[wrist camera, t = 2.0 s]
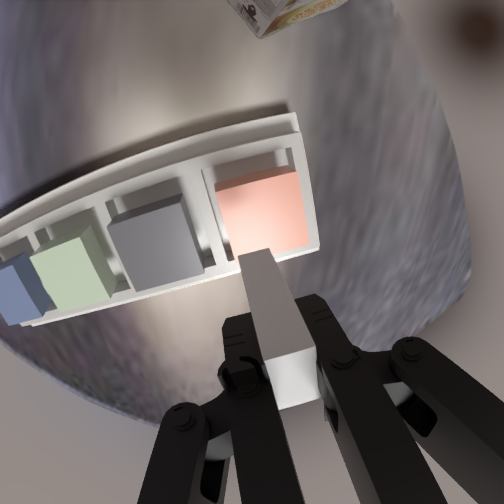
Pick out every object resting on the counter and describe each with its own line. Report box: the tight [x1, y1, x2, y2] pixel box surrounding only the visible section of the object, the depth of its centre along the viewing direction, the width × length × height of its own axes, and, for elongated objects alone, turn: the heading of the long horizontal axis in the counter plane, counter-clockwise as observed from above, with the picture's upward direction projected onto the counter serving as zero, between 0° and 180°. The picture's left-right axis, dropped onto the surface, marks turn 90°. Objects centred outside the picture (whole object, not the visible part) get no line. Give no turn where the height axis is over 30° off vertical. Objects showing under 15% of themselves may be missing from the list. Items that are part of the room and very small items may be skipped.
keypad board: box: [0, 112, 320, 326], centre depth 24 cm, size 13×34×4 cm, turn 103°
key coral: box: [214, 165, 309, 265], centre depth 21 cm, size 6×6×2 cm
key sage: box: [29, 225, 118, 312], centre depth 21 cm, size 6×6×2 cm
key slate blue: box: [0, 252, 52, 326], centre depth 20 cm, size 6×6×2 cm
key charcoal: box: [106, 193, 205, 292], centre depth 21 cm, size 6×6×2 cm
